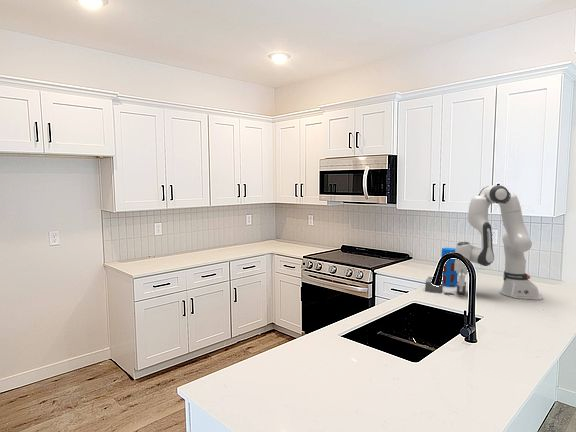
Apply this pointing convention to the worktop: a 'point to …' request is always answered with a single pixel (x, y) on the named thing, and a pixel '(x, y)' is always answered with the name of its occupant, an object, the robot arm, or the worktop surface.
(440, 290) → the camera body
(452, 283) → the blue red-spotted block
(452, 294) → the lens cap
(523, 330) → the worktop surface
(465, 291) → the lens
